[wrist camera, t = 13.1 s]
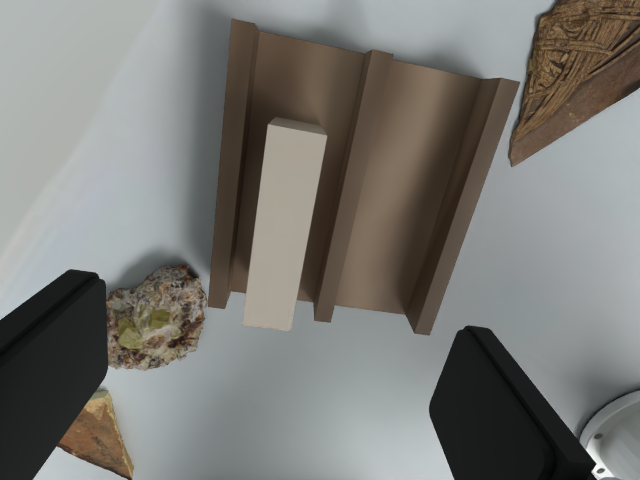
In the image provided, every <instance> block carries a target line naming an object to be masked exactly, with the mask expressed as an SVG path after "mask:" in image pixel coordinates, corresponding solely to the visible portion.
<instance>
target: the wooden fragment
mask: <svg viewBox="0 0 640 480" xmlns="http://www.w3.org/2000/svg"><path fill="white" fill-rule="evenodd" d="M526 74H528V80H527V82H526V84H525V91H524V98H523V104H522V110H521V114H520V118H519V119H520V124H519V126H518V127H517V128H516V129H515V130H514V132H513V135H512V137H511V139H510V148H509V159H510V162H511V167H513V166H515V165H517V164H518V163H520V162H522V161H523V160H525V159H526V158H528V157H529V156H531V155H533V154H534V153H536V152H537V151H539V150H541V149H542V148H544V147H546V146H547V145H549V144H551V143H552V142H554V141H555V140H557V139H558V138H560V137H562V136H563V135H565V134H566V133H568V132H569V131H571V130H573V129H574V128H576V127H577V126H579V125H580V124H582V123H583V122H585V121H587V120H588V119H590V118H591V117H593V116H594V115H596V114H598V113H599V112H601V111H603V110H604V109H606V108H607V107H609V106H611V105H612V104H614V103H616V102H618V101H619V100H621V99H623V98H625V97H626V96H628V95H629V94H631V93H632V92H634V91H636V90H637V89H638V88H640V0H559V1H558V3H557V4H556V6H555V7H554V8H553V9H552V11H550V12H548V13H545V14H543V15H542V16H541V17H540V20H539V23H538V27H537V30H536V32H535V34H534V38H533V50H532V53H531V56H530V59H529V62H528V69H527V72H526Z"/></svg>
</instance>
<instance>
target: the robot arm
mask: <svg viewBox="0 0 640 480" xmlns="http://www.w3.org/2000/svg"><path fill="white" fill-rule="evenodd" d="M107 370H108V340H107V309H106V284H105V281H104V280H102V279H99V276H98V274H97V273H94V272H87V271H80V270H72V269H70V270H68V271H66V272H65V273H64V274H62V275H61V276H60V277H58V278H57V279H55V280H54V281H53V282H51V283H50V284H49V285H47V286H46V287H45V288H43V289H42V290H40V291H39V292H38V293H36V294H35V295H34V296H32V297H31V298H30V299H28V300H27V301H26V302H24V303H23V304H21V305H20V306H19V307H17V308H16V309H15V310H13V311H12V312H11V313H9V314H8V315H6V316H5V317H4V318H2V319H1V320H0V480H33V478H34V477H35V476H36V474H37V473H38V471H39V470H40V469H41V467H42V466H43V464H44V463H45V462H46V460H47V459H48V457H49V456H50V455H51V453H52V452H53V450H54V449H55V447H56V446H57V445H58V443H59V442H60V440H61V439H62V438H63V436H64V435H65V433H66V432H67V431H68V429H69V428H70V426H71V425H72V424H73V422H74V421H75V419H76V418H77V417H78V415H79V414H80V412H81V411H82V409H83V408H84V407H85V405H86V404H87V402H88V401H89V400H90V398H91V397H92V395H93V394H94V393H95V391H96V390H97V388H98V387H99V386H100V384H101V383H102V381H103V380H104V378H105V376H106V373H107ZM429 413H430V418H431V420H432V423H433V426H434V428H435V431H436V433H437V436H438V438H439V441H440V444H441V446H442V449H443V451H444V454H445V456H446V459H447V462H448V464H449V467H450V469H451V472H452V475H453V477H454V480H597V479H596V478H595V477H594V475H596V476H598V477H600V478H602V479H600V480H640V390H638V391H635V392H632V393H629V394H627V395H625V396H622V397H620V398H618V399H616V400H615V401H613V402H611V403H610V404H608V405H606V406H605V407H604V408H603V409H601V410H600V411H599V412H598V413H597V414H596V415H595V416H594V417H593V418H592V419H591V420H590V421H589V422H588V424H587V425H586V427H585V428H584V430H583V432H582V435H581V437H580V441H578V440H577V438H576V437H575V436H574V435H573V433H572V432H571V431H570V430H569V428H568V427H567V426H566V424H565V423H564V422H563V421H562V419H561V418H560V417H559V416H558V414H557V413H556V412H555V411H554V409H553V408H552V407H551V405H550V404H549V403H548V402H547V400H546V399H545V398H544V397H543V395H542V394H541V393H540V392H539V390H538V389H537V388H536V386H535V385H534V384H533V383H532V381H531V380H530V379H529V378H528V376H527V375H526V374H525V373H524V371H523V370H522V369H521V368H520V366H519V365H518V364H517V362H516V361H515V360H514V359H513V357H512V356H511V355H510V354H509V352H508V351H507V350H506V349H505V347H504V346H503V345H502V343H501V342H500V341H499V340H498V338H497V337H496V336H495V335H494V333H493V332H492V331H491V330H490V329H488V328H483V327H476V326H469V325H468V326H466V327H465V328H464V329H463V330H459V331H458V332H457V334H456V337H455V339H454V342H453V344H452V347H451V349H450V352H449V355H448V357H447V360H446V362H445V365H444V368H443V370H442V373H441V375H440V378H439V381H438V383H437V386H436V388H435V391H434V394H433V396H432V399H431V401H430V405H429ZM591 472H592V473H593V474H594V475H593V474H592V473H591Z"/></svg>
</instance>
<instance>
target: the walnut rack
mask: <svg viewBox="0 0 640 480" xmlns="http://www.w3.org/2000/svg"><path fill="white" fill-rule="evenodd" d="M392 57H393V54H390V53H386V52H381V51H377V50H371V51H369V52H367V53H366V54H363V53H359V52H354V51H349V50H345V49H340V48H336V47H331V46H326V45H322V44H317V43H313V42H308V41H303V40H299V39H294V38H290V37H285V36H280V35H276V34H271V33H267V32H262V31H259V29H258V28H257V26H256V25H255V24H254V23H249V22H245V21H240V20H236V19H232V23H231V35H230V47H229V59H228V71H227V83H226V95H225V106H224V118H223V130H222V142H221V154H220V166H219V178H218V190H217V202H216V214H215V226H214V237H213V249H212V261H211V273H210V285H209V297H208V307H213V308H221V309H225V307H226V304H227V301H228V298H229V296H230V293H231V291H233V292H241V293H246V292H247V284H248V276H249V268H250V261H251V253H252V245H253V237H254V229H255V221H256V214H257V206H258V198H259V190H260V182H261V175H262V167H263V159H264V151H265V143H266V136H267V128H268V124H269V123H270V122H271V121H272V120H273V119H274V118H275V117H280V118H285V119H290V120H296V121H301V122H306V123H311V124H317V125H321V126H322V128H323V129H324V131H325V133H326V134H327V140H326V145H325V151H324V156H323V161H322V167H321V172H320V177H319V183H318V188H317V193H316V199H315V204H314V209H313V214H312V220H311V225H310V230H309V236H308V241H307V246H306V252H305V257H304V262H303V268H302V273H301V278H300V284H299V289H298V294H297V300H300V301H308V302H313V304H314V321H322V322H329V323H331V318H332V314H333V310H334V305H337V306H345V307H352V308H360V309H367V310H374V311H382V312H389V313H397V314H404V315H406V317H407V319H408V321H409V323H410V325H411V327H412V329H413V331H414V333H415V334H423V335H430V332H431V330H432V327H433V324H434V321H435V319H436V316H437V313H438V310H439V307H440V305H441V302H442V299H443V296H444V293H445V291H446V288H447V285H448V282H449V280H450V277H451V274H452V271H453V268H454V266H455V263H456V260H457V257H458V254H459V252H460V249H461V246H462V243H463V240H464V238H465V235H466V232H467V229H468V227H469V224H470V221H471V218H472V215H473V213H474V210H475V207H476V204H477V201H478V199H479V196H480V193H481V190H482V188H483V185H484V182H485V179H486V176H487V174H488V171H489V168H490V165H491V162H492V160H493V157H494V154H495V151H496V149H497V146H498V143H499V140H500V137H501V135H502V132H503V129H504V126H505V123H506V121H507V118H508V115H509V112H510V109H511V107H512V104H513V101H514V98H515V96H516V93H517V90H518V87H519V84H520V82H518V81H513V80H509V79H504V78H491V79H478V78H474V77H469V76H464V75H460V74H455V73H451V72H446V71H441V70H437V69H432V68H428V67H423V66H418V65H414V64H409V63H405V62H400V61H395V60H392Z"/></svg>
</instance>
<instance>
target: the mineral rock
mask: <svg viewBox="0 0 640 480" xmlns="http://www.w3.org/2000/svg"><path fill="white" fill-rule="evenodd" d="M200 281H201V279H199V278H193V277H192V276H191V275H190V269H189V266H187V265H185V264H184V265H179V266H178V267H177V268H172V267H170V266H164V267H162V268H159V269H157V270H155V271H154V272H153V273H152V274H151V275H149V276H147V278H146V279H145V281H144V283H142V284H140V285H139V286H138V287H137V288H131V289H130V288H128V290H125V289H122V288H119V289H118V290H116V291H113V292H110V295H109V298H108V300H106V307H107V309H108V311H109V314H108V315H107V340H108V365H109V366H110V367H114V368H115V369H116V370H117V369H120V368H124V369H132V368H135V369H139V370H141V371H145V370H147V369H152V368H157V367H160V366H165V365H168V364H169V362H171V361H173V360H174V359H175V358H176V357H177V358H178V360H182V359H184V358H185V357H186V356H185V355H186V353H187V352H193V351H196V349H197V342H198V339H199V337H198V336H199V335H200V333H201V330H202V329H203V328H202V325H203V322H202V321H204V319H205V318H204V314H203V310H204V308H205V307H206V306H207V299H206V294H205V293H203V292H202V291H201V290H200V288H201V284H200Z"/></svg>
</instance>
